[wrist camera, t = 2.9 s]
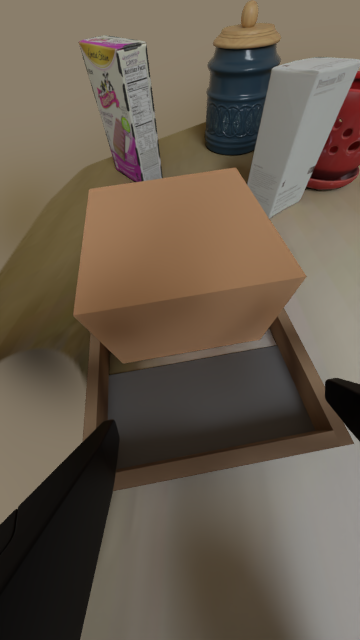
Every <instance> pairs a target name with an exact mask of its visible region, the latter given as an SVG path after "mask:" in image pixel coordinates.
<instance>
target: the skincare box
mask: <svg viewBox="0 0 360 640" xmlns="http://www.w3.org/2000/svg"><path fill="white" fill-rule="evenodd" d="M359 67H360V60H358V59H346V58H327V57H315V58H309V59H304V60H298V61H293V62H290V63H286V64H283V65H280V66H276V67H274V68H272V71H271V76H270V81H269V85H268V90H267V95H266V99H265V104H264V109H263V113H262V118H261V123H260V127H259V132H258V136H257V141H256V146H255V150H254V155H253V159H252V164H251V169H250V173H249V178H248V182H247V185H248V187H249V188H250V190H251V191H252V193H253V195H254V196H255V198H256V199H257V201H258V202H259V204H260V205H261V207H262V208H263V210H264V212H265V213H266V215H267V216H268V218H271V217H272V216H273V215H275V214H277V213H278V212H280V211H281V210H283V209H285V208H287V207H289V206H291V205H293V204H295V203H297V202H298V201H300V199H301V197H302V195H303V192H304V190H305V188H306V186H307V183H308V181H309V179H310V177H311V174H312V172H313V170H314V168H315V165H316V163H317V161H318V159H319V157H320V154H321V152H322V150H323V148H324V145H325V143H326V141H327V139H328V136H329V134H330V132H331V130H332V127H333V125H334V123H335V120H336V118H337V116H338V113H339V111H340V109H341V107H342V104H343V102H344V100H345V98H346V96H347V93H348V91H349V89H350V87H351V85H352V82H353V80H354V78H355V76H356V73H357V71H358V69H359Z"/></svg>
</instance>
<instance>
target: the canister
mask: <svg viewBox="0 0 360 640" xmlns="http://www.w3.org/2000/svg"><path fill="white" fill-rule="evenodd" d="M257 17H258V5H257V2H255V1H253V0H251V1H249V2H247V3H246V5H245V6H244V9H243V11H242V17H241V24H240V25H234V26H229V27H226V28H224V29H222V32H221V34H220V35H219V36H218V37H217V38H216V39H215V40H214V42H213V45H214V46H215V47H216V50H215V53H214V56H213V58H212V59H211V60H210V61H209V62H208V69H209V71H210V82H209V87H208V89H207V115H206V129H205V140H206V147H207V148H208V149H209V150H211V151H213V152H216V153H219V154H225V155H238V154H244V153H248V152H251V151H253V150H255V146H256V141H257V136H258V132H259V127H260V123H261V118H262V113H263V109H264V104H265V99H266V95H267V90H268V85H269V81H270V76H271V71H272V68H274V67H276V66H278V65H279V64H280V62H281V59H280V57H279V55H278V54H277V52H276V43H278V42H279V41H280V39H281V36H280V35H279V33H278V32H277V31H276V29H275V26H274V24H269V23H256V21H257Z"/></svg>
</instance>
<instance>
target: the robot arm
mask: <svg viewBox="0 0 360 640" xmlns="http://www.w3.org/2000/svg"><path fill="white" fill-rule="evenodd" d="M325 399H326V401H327V403H328V404H329V405H330V406H331V408H332V409H333V410H334V411H335V412H336V414H337V415H338V416H339V417H340V419H341V420H342V421H343V422H344V424H345V425H346V426H347V427H348V428H349V430H350V431H351V432H352V433H353V434H354V436H355V437H356V438H357V439H358V440H359V441H360V384H357V383H353V382H350V381H346V380H343V379H339V378H333V379H328V380H326V382H325ZM119 442H120V437H119V432H118V429H117V425H116V422H115V420H113V419H111V420H105V421H103V422H102V423H101V424H100V425H99V426H98V427H97V428H96V429H95V430H94V431H93V432H92V433H91V434H90V435H89V436H88V437H87V438H86V439H85V440H84V441H83V442H82V443H81V444H80V445H79V446H78V447H77V448H76V449H75V450H74V451H73V452H72V453H71V454H70V455H69V456H68V457H67V458H66V459H65V460H64V461H63V462H62V464H60V465H59V466H58V467H57V468H56V469H55V470H54V471H53V472H52V473H51V474H50V475H49V476H48V477H47V478H46V479H45V480H44V481H43V482H42V483H41V485H40V486H38V487H37V489H35V491H33V493H32V494H31V495H29V497H27V498H26V499H25V501H24V502H22V503H21V504H20V506H19V507H18V509H16V510H14V511H13V512H12V513H11V514H10V515H9V516H8V517H7V519H5V521H4V522H3V523H2V524H0V640H80V637H81V633H82V628H83V624H84V619H85V615H86V610H87V606H88V601H89V597H90V592H91V588H92V583H93V578H94V574H95V569H96V565H97V560H98V556H99V551H100V547H101V542H102V538H103V533H104V529H105V524H106V520H107V515H108V511H109V506H110V502H111V497H112V492H113V488H114V482H115V475H116V467H117V459H118V450H119Z"/></svg>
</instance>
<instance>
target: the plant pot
mask: <svg viewBox="0 0 360 640" xmlns="http://www.w3.org/2000/svg"><path fill="white" fill-rule="evenodd" d="M339 119H341V120H342V122H340V121H339ZM359 165H360V71H357V73H356V76H355V78H354V80H353V82H352V85H351V87H350V89H349V91H348V93H347V96H346V98H345V100H344V102H343V104H342V107H341V109H340V111H339V113H338V116H337V118H336V120H335V123H334V125H333V127H332V130H331V132H330V134H329V136H328V139H327V141H326V143H325V145H324V148H323V150H322V152H321V154H320V157H319V159H318V161H317V163H316V165H315V168H314V170H313V172H312V174H311V177H310V179H309V181H308V183H307V186H306V187H308V188H313V189H316V190H327V189H336V188H340V187H343V186H345V185H347V184H349V183H351V182H352V181H353V180H354V179H355V178H356V177H357V176H358V174H359V167H358V166H359Z"/></svg>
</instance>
